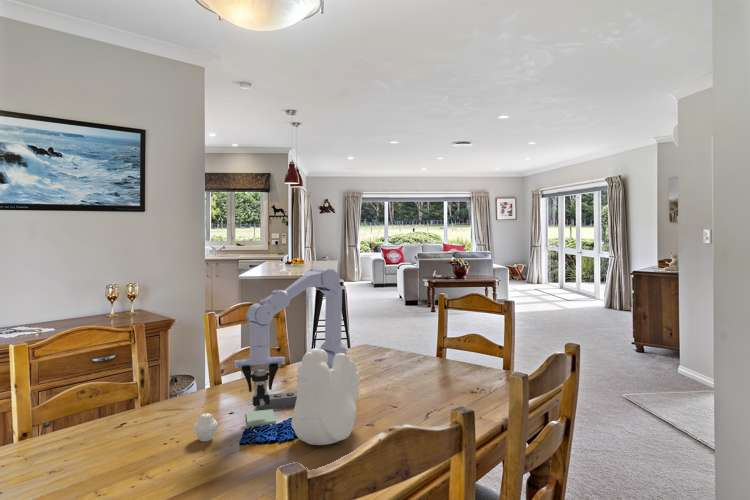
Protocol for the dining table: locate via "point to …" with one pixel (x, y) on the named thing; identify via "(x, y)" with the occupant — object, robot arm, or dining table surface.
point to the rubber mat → (260, 417)
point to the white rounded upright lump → (325, 398)
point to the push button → (260, 388)
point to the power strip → (280, 400)
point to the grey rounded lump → (205, 427)
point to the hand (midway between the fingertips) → (260, 389)
